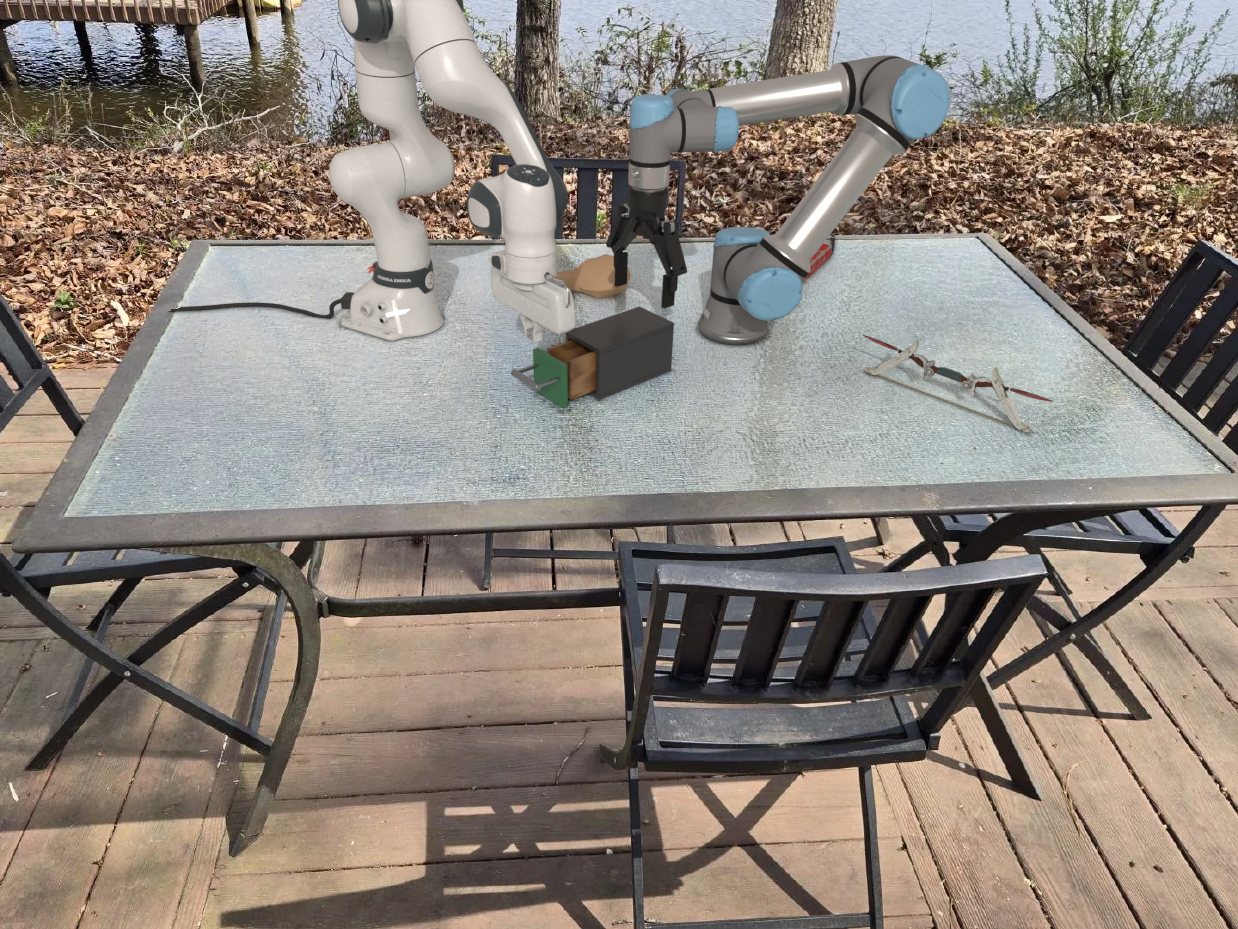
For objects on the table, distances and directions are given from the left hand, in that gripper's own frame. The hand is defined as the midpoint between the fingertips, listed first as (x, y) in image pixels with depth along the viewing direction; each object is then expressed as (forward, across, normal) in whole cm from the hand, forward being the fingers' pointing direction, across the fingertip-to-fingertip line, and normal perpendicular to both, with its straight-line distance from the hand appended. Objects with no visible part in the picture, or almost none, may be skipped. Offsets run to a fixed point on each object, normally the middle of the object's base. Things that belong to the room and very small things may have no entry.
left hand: (533, 338), depth 158 cm
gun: (+14, +17, -92) cm, 95 cm away
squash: (+14, +36, -43) cm, 59 cm away
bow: (+14, -48, -64) cm, 81 cm away
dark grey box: (+14, 0, -21) cm, 26 cm away
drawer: (+14, 0, -9) cm, 16 cm away
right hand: (-1, 0, -27) cm, 27 cm away
